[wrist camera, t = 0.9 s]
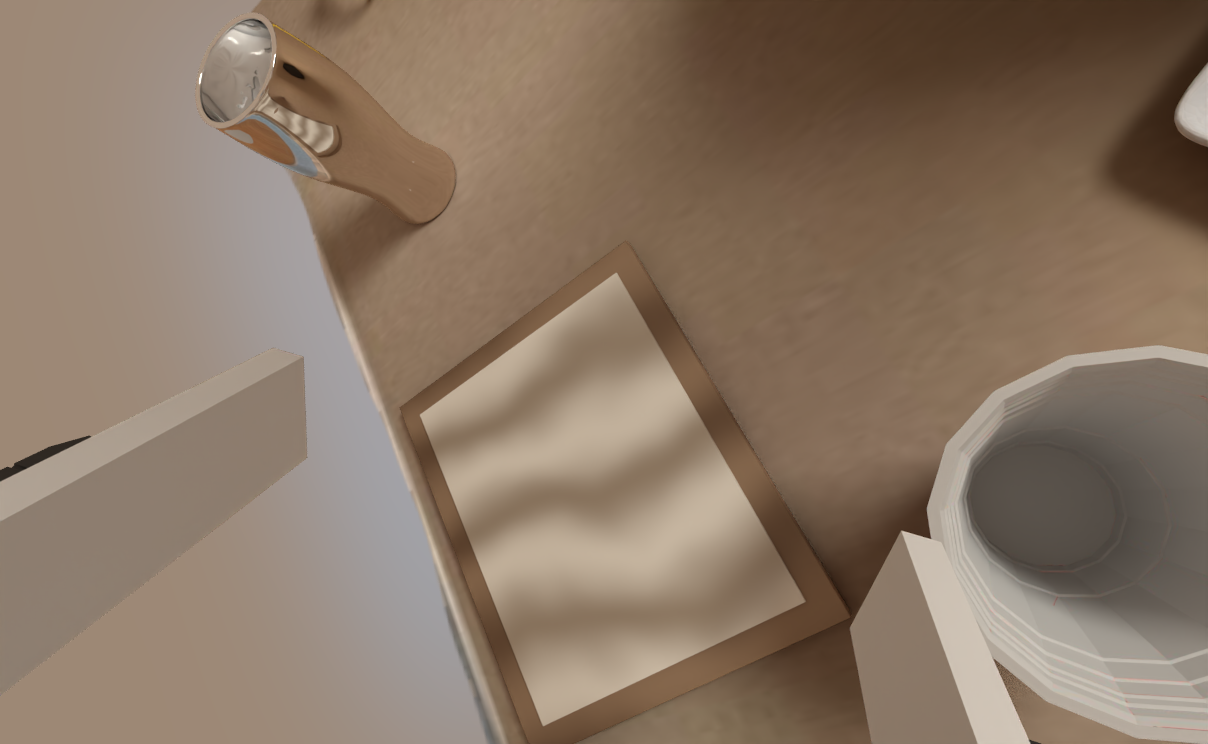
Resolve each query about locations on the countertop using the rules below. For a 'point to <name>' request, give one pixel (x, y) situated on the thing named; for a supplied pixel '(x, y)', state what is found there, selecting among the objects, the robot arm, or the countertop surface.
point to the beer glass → (316, 119)
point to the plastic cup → (1090, 535)
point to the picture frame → (611, 510)
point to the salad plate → (1194, 110)
